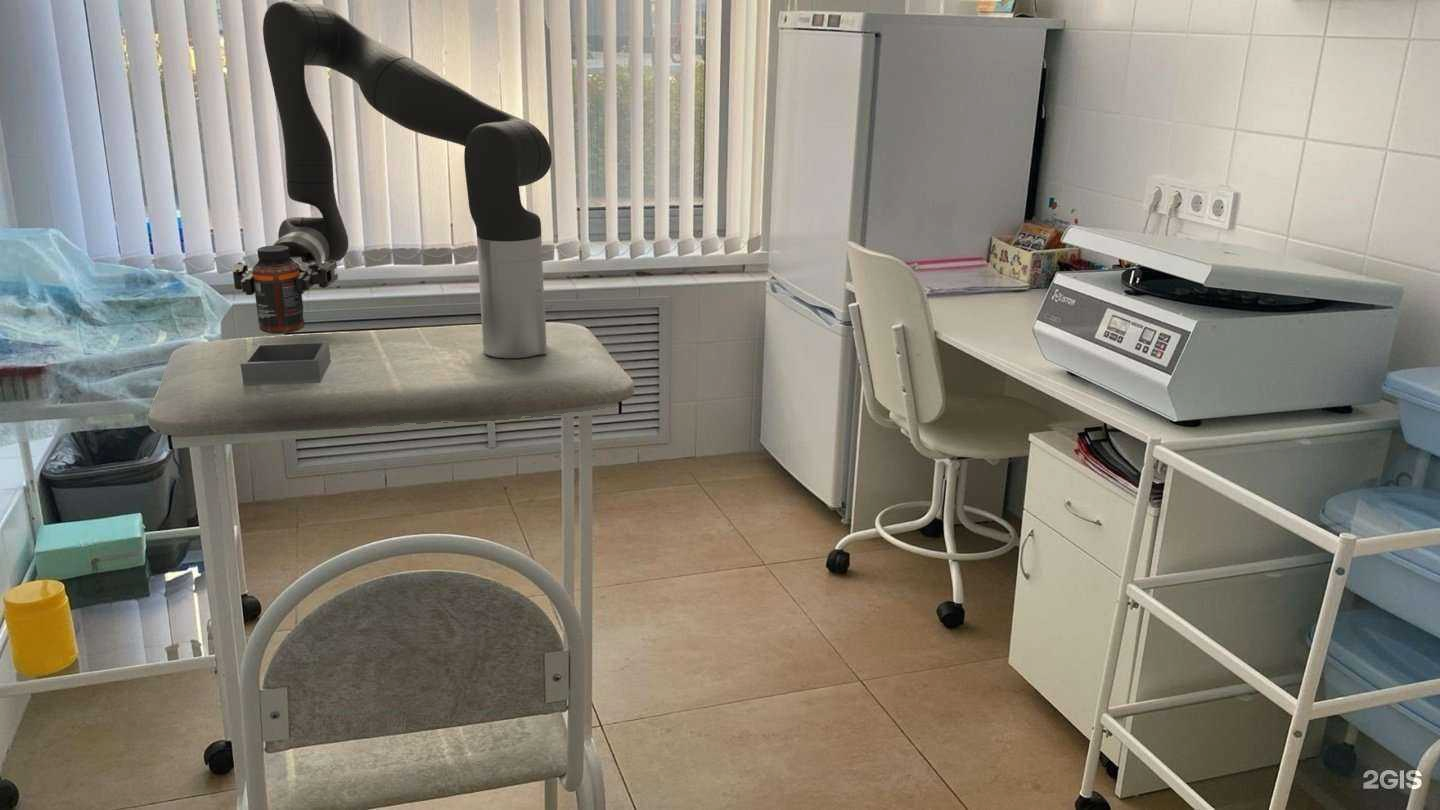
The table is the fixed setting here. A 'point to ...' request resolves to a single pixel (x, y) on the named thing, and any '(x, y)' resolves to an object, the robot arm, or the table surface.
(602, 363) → the table surface
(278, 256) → the supplement bottle
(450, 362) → the table surface
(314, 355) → the grey storage bin
